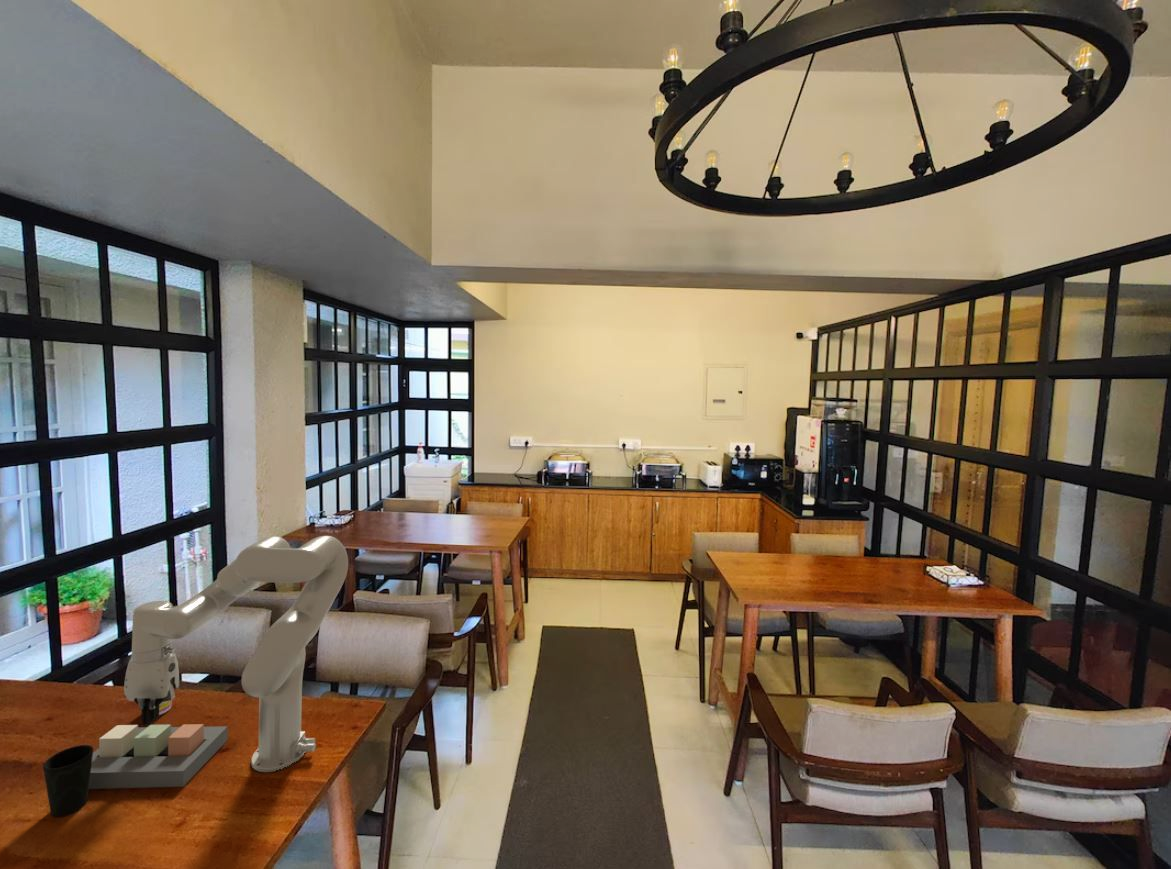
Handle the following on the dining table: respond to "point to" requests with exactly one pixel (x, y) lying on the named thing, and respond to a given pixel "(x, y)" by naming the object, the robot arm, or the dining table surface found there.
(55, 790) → the cup
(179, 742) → the terracotta button
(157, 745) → the green button
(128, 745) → the cream button
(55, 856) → the dining table surface
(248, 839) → the dining table surface
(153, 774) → the console
